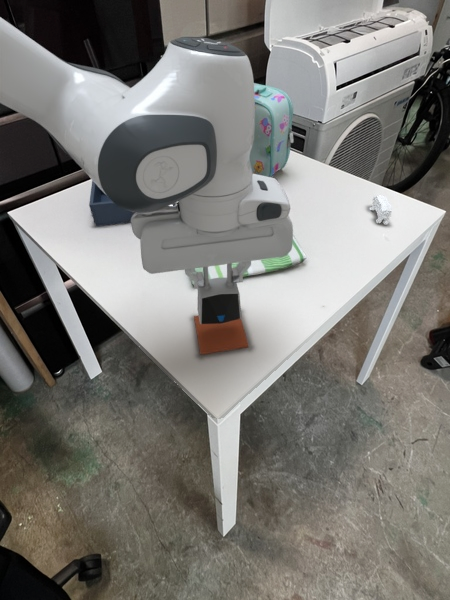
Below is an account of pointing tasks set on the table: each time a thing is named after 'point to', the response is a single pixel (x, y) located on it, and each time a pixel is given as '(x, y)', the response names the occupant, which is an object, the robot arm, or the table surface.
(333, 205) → the table surface
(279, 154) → the lunch box
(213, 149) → the robot arm
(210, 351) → the mat
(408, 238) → the table surface
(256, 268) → the dish towel
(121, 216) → the basket
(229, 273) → the padlock
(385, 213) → the figurine
